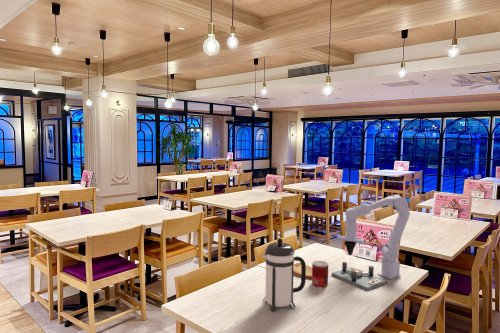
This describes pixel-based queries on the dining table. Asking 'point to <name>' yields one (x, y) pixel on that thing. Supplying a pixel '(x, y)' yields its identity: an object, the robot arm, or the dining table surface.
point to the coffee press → (281, 274)
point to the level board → (360, 279)
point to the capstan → (357, 271)
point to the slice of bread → (298, 271)
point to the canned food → (320, 273)
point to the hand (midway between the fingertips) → (350, 254)
